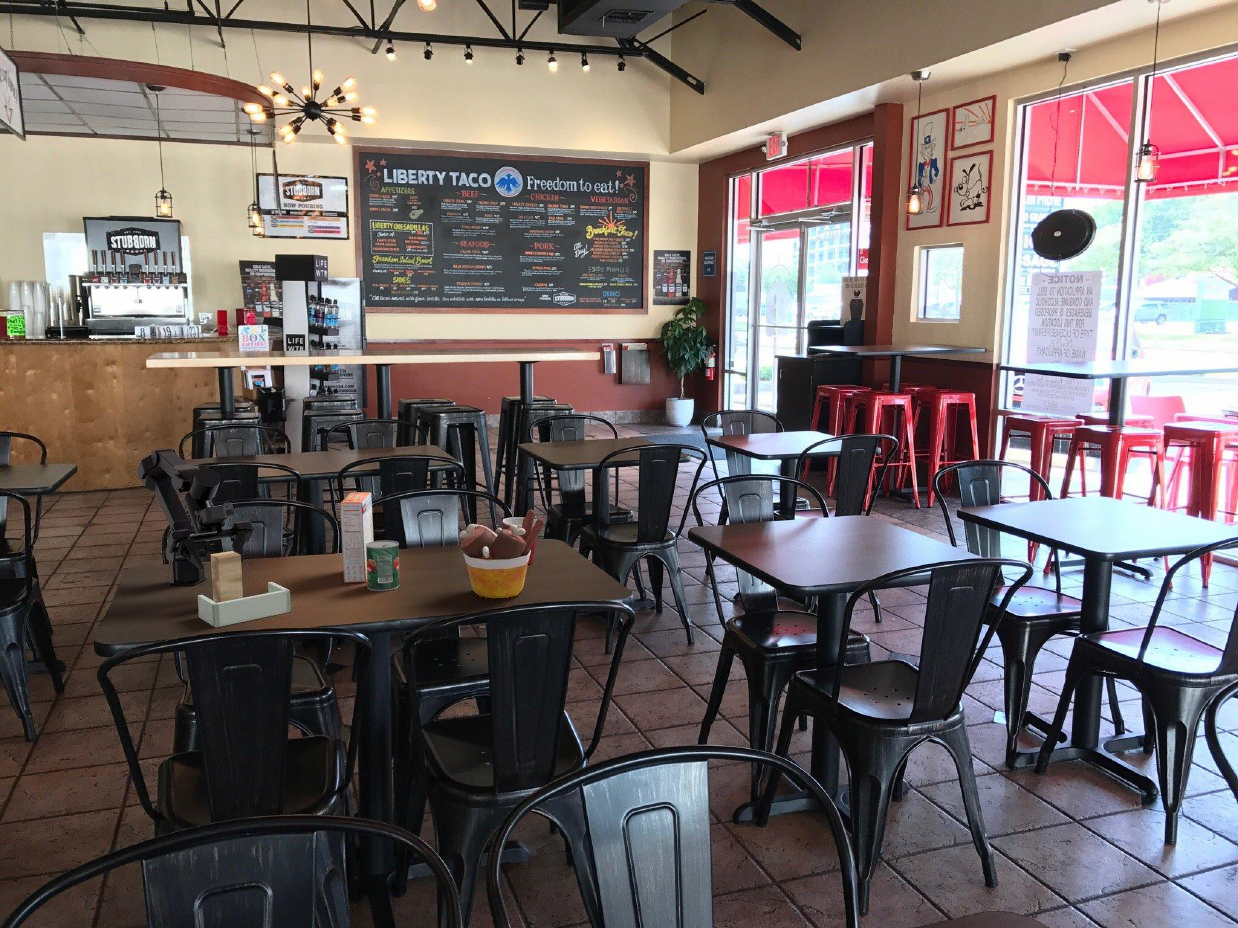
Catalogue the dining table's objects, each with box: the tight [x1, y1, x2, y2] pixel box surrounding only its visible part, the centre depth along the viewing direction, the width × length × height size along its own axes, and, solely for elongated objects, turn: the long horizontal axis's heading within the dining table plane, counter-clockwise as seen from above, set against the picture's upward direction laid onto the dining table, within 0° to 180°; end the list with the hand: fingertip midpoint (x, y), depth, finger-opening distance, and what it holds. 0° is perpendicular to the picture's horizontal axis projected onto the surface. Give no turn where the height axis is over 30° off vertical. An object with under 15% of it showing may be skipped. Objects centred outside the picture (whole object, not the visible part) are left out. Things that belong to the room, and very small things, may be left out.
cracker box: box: [339, 491, 374, 584], centre depth 250 cm, size 14×6×21 cm, turn 5°
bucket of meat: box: [458, 509, 545, 600], centre depth 236 cm, size 20×16×20 cm
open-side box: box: [197, 581, 292, 628], centre depth 219 cm, size 10×17×5 cm, turn 133°
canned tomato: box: [366, 540, 401, 592], centre depth 241 cm, size 8×8×11 cm
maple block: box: [210, 550, 244, 603], centre depth 225 cm, size 5×5×12 cm
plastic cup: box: [502, 516, 538, 565], centre depth 265 cm, size 11×11×12 cm
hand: (222, 565), depth 227 cm, fingers open, 9 cm apart
